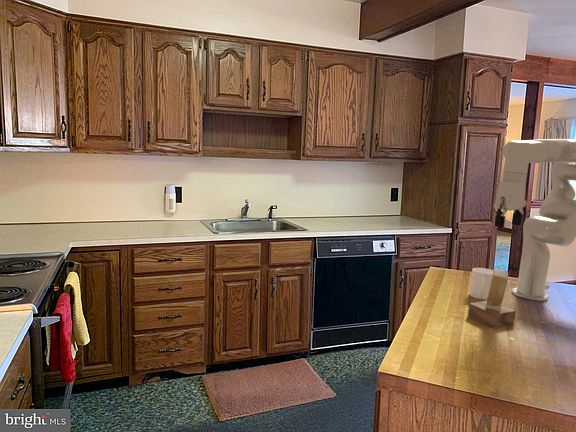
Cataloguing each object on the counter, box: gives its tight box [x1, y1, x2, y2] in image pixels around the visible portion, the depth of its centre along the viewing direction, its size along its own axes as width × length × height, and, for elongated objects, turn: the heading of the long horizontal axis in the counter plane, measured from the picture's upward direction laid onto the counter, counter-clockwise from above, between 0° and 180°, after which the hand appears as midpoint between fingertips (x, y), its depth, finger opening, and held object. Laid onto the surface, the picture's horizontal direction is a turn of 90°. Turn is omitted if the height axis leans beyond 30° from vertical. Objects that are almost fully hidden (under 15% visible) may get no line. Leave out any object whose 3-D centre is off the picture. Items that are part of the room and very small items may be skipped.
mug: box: [469, 267, 494, 301], centre depth 168 cm, size 12×8×10 cm
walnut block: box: [467, 300, 517, 329], centre depth 147 cm, size 10×10×5 cm
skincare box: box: [486, 268, 509, 312], centre depth 144 cm, size 6×4×12 cm
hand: (507, 225), depth 155 cm, fingers open, 9 cm apart
